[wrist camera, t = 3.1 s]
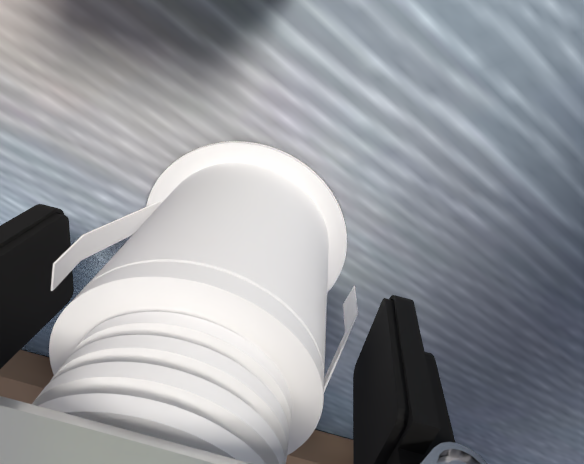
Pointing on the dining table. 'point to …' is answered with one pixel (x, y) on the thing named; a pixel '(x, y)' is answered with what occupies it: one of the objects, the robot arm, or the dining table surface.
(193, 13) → the dining table surface
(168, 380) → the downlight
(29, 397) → the walnut board
